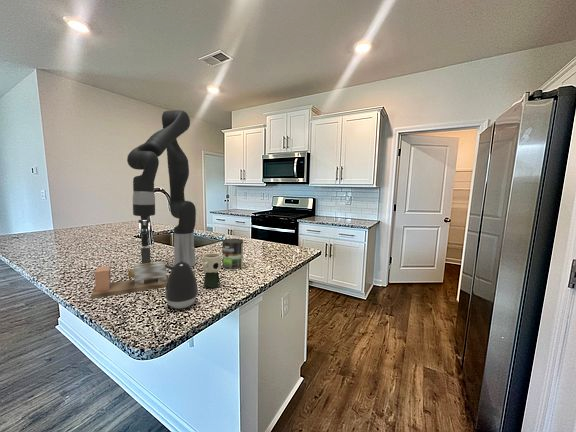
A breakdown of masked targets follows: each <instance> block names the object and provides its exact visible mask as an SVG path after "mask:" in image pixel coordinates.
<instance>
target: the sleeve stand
mask: <svg viewBox="0 0 576 432" xmlns="http://www.w3.org/2000/svg"><path fill="white" fill-rule="evenodd" d="M166 264H167V263H166V261H165V260H164V261H156V262H150V263H149V265H146V266H143V264H142V263H138V264H134V267H133V269H134V274H135V277H134V279H128V280H122V281H116V282H115V281H114V282H111V286H110V290H107V291H100V292H96V288H95V287H94V288H93V290H92V291H91V294H90V295H91V298H90V299H91V300H93V299H94V300H95V299H100V298H106V297H110V296H111V297H112V296H118V295H124V294H130V293H131V294H132V293H137V292H143V291H149V290H155V289H162V288H166V285H167V281H168V277H169V275H168V274H167V268H166V267H165V265H166Z"/></svg>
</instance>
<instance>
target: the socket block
mask: <svg viewBox="0 0 576 432" xmlns="http://www.w3.org/2000/svg"><path fill="white" fill-rule="evenodd" d="M111 276H112V275H111V265H106V266H105V265H104V266H97V267H96V268H95V271H94V284H95V285H94V288H96V292H100V291H107V290H110V286H111V283H112V278H111Z"/></svg>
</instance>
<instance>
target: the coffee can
mask: <svg viewBox="0 0 576 432" xmlns="http://www.w3.org/2000/svg"><path fill="white" fill-rule="evenodd" d="M221 242H222V257H221V262H222V267H221V269H222V268H223V269H222V270H224V269H225V270H224V271H227V270H236V269H240V268H242V266H243V264H244V263H243V262H244V261H243V258H244V256H243V255H244V254H243V253H244V247H243V246H244V239H240V238H224V239H222V240H221ZM242 269H243V268H242ZM240 270H241V269H240ZM236 271H237V270H236Z"/></svg>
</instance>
